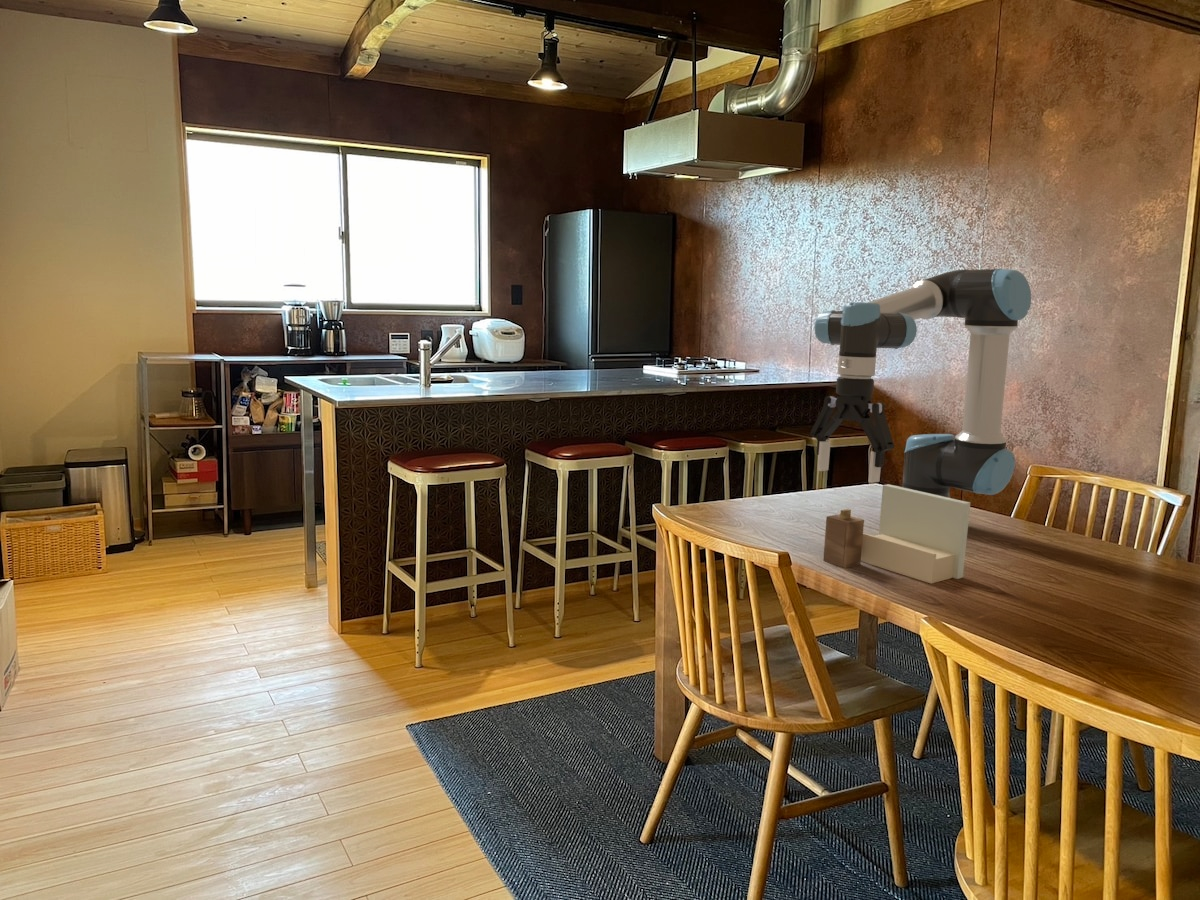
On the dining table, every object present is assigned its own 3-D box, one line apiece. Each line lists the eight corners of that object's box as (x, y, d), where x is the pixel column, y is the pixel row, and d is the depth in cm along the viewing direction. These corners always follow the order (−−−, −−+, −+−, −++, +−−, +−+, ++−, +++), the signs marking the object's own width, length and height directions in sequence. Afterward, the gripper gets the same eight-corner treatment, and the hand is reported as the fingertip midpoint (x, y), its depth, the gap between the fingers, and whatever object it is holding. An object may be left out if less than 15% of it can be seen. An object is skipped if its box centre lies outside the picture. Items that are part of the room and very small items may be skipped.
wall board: (882, 553, 195) (888, 484, 193) (962, 577, 179) (970, 502, 177) (855, 559, 190) (860, 488, 187) (935, 585, 174) (942, 508, 171)
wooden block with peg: (838, 557, 191) (842, 505, 189) (860, 564, 187) (864, 511, 185) (822, 560, 188) (826, 508, 186) (844, 568, 184) (848, 514, 182)
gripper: (798, 372, 189) (791, 467, 192) (894, 382, 168) (885, 488, 172) (821, 371, 193) (814, 464, 196) (918, 381, 173) (908, 485, 176)
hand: (847, 476), depth 184 cm, fingers open, 13 cm apart
